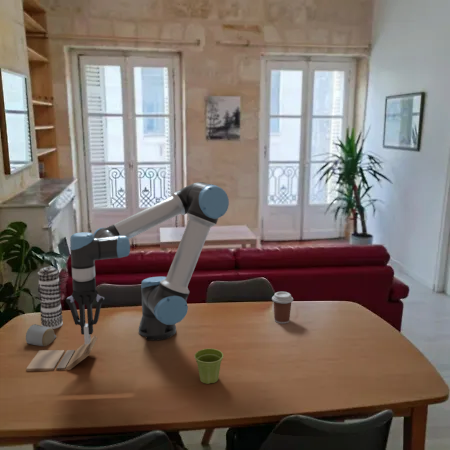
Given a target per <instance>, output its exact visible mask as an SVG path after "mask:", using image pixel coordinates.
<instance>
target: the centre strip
mask: <svg viewBox="0 0 450 450" xmlns="http://www.w3.org/2000/svg"><path fill="white" fill-rule="evenodd" d="M75 351H76V349H67V350H66V351H65V352H64V354H63V356H62V357H61V359H60V361H59V362H58V364H57V366H56V367H55V369H56V371H65V370H67V368H66V367H67V365H68V363H69V361H70V360H71V358H72V356H73V354H74V352H75Z"/></svg>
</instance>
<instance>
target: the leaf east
mask: <svg viewBox="0 0 450 450" xmlns="http://www.w3.org/2000/svg"><path fill="white" fill-rule="evenodd" d="M65 353H66V351H65V350H64V349H60V350H59V349H53V350H52V349H49V350H47V349H44V350H43V349H42V350H40V349H39V350H38V351H37V353H36V355H35V356H34V357H33V358H32V359H31V361H30V363H29V364H28V365H27V367H26V368H25V370H26V372H40V371H41V372H42V371H43V372H44V371H45V372H49V371H54V370H55V369H56V368H57V366H58V365H59V363H60V361H61V359H62V358H63V356H64V354H65Z"/></svg>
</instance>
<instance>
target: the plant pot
mask: <svg viewBox="0 0 450 450" xmlns="http://www.w3.org/2000/svg"><path fill="white" fill-rule="evenodd" d="M194 359H195V361H196V363H197V368H198V369H197V370H198V374H199V375H198V376H199V380H200V382H201V383H203V384H206V385H207V384H208V385H209V384H215V383H217V382H218V381H219V380H220V379H219V377H220V371H221V363H222V360H223V359H224V353H223V352H222V351H221V350H219V349H217V348H216V349H215V348H204V349H199V350H197V351H196V352H195V353H194Z"/></svg>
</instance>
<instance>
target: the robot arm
mask: <svg viewBox="0 0 450 450" xmlns="http://www.w3.org/2000/svg"><path fill="white" fill-rule="evenodd" d="M229 205H230V201H229V196H228V195H227V192H226V191H225V190H224V189H223V188H222V187H220V186H218V185H216V184H212V183H206V182H203V181H202V182H201V181H197V182H194V183H190V184H189V185H187V186H184V187H182V188H181V189H179V190H176V191H174V192H172V193H171V196H170V197H168V198H166V199H164V200H162V201H159V202H158V203H156V204H153V205H151V206H149V207H147V208H145V209H143V210H140V211H139V212H136V213H135V214H132V215H130V216H128V217H126V218H124V219H122V220H120V221H118V222H116V223H114V224H111V225H109V226H107V227H99V228H97V229H95V231H94V232H93V233H92V232H86V231H85V232H84V231H83V232H76V233H73V234H71V236H70V239H69V240H70V243H69V244H70V245H69V249H70V250H69V251H70V259H71V260H70V261H71V262H70V263H71V264H70V265H71V277H72V294H71V295H70V296H67V298H66V299H65V303H66V304H67V305H68V307H69V309H70V313H71V317H72V319H73V322H74V325H76V326H79V327H80V334H81V335H83V336H84V343H85V344H89V343H90V342H91V338H92V336H91V335H93V333H94V325H97V323H98V321H99V317H100V313H101V308H102V303H103V302H104V300H105V296H104V295H100V294H99V293H98V290H97V283H96V282H97V281H96V279H97V278H96V263H95V262H96V261H99V260H108V259H121V258H126V257H128V256H129V255H130V252H131V243H130V239H132V238H134V237H136V236H138V235H141V234H142V233H144V232H147V231H148V230H150V229H153V228H155V227H157V226H158V225H161V224H162V223H165V222H168V221H169V220H170V219H173V218H175V217H177V216H179V215H182V216H185V215H187V217H188V222H187V223H186V227H185V229H184V231H183V233H182V237H181V239H180V241H179V244H178V247H177V249H176V252H175V254H174V257H173V259H172V262H171V265H170V267H169V270H168V272H167V275H166V276H152V277H151V276H150V277H147V278H145V279H143V280H141V287H140V291H141V311H142V314H141V318H140V323H139V326H138V334H139V335H140V336H142V337H145V338H146V340H148V341H163V340H166V339H170V338H172V337H174V336H175V334H176V333H177V324H178V323H180V322H182V320H184V319H185V317H186V316H187V313H188V311H189V310H188V309H189V306H188V303H187V301H188V297H189V295H190V290H189V288H188V286H189V283H190V281H191V278H192V275H193V273H194V271H195V268H196V266H197V263H198V261H199V258H200V256H201V252H202V250H203V247H204V246H205V242H206V240H207V237H208V235H209V232H210V231H211V228H212V227H215V226H216V225H217V224H218V221H219V218H221V217H223V216H224V215H225V214H226V213H227V211H228V210H229ZM95 300H96V302H97V304H96V306H95V307H96V308H95V312H94V315H93V302H94V301H95ZM75 301H76V303H77V304H78V308H77V305H76V303H75ZM85 306H86V307H85ZM78 309H79V313H78ZM85 312H86V313H87V316H86V313H85ZM86 317H87V321H86Z"/></svg>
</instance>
